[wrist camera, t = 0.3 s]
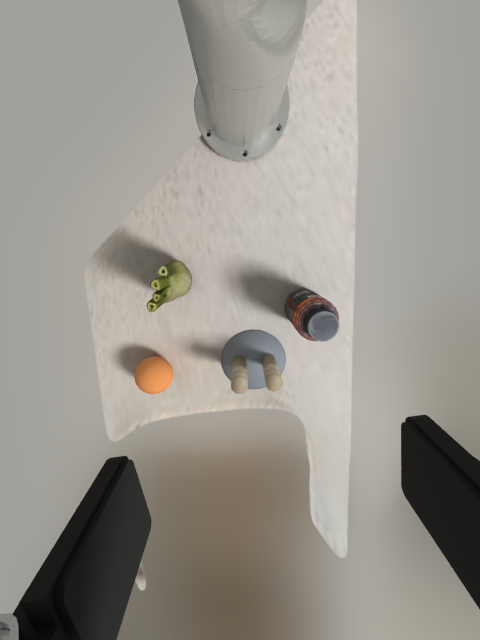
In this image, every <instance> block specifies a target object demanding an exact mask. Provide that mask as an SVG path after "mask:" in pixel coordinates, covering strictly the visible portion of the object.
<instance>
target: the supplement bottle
mask: <svg viewBox="0 0 480 640" xmlns="http://www.w3.org/2000/svg"><path fill="white" fill-rule="evenodd" d="M285 312H286V315H287V317H288V319H289V320H290V321H291V323H292V324H293V326H294V327H295V329H296V330H297V331H298V333H299V334H300V335H301V336H303V337H304V338H306V339H308V340H311V341H327V340H330V339H332V338H333V337H334V336H335V335H336V334H337V332H338V329H339V316H338V312H337V310H336V308H335V306H334V305H333V304H332V303H330V302H329V301H327V300H326V299H324V298H323V297H321V296H319V295H318V294H316V293H315V292H313V291H310V290H306V289H302V290H298V291H295V292H294V293H292V294H291V295H290V296H289V298H288V299H287V301H286V304H285Z"/></svg>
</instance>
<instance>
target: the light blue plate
mask: <svg viewBox="0 0 480 640" xmlns="http://www.w3.org/2000/svg"><path fill="white" fill-rule="evenodd" d="M265 354H272V355H274V357H275V359H276V362H277V366H278V369H279V372H280V375H281V374H282V372H283V370H284V368H285V363H286V356H285V351H284V349H283V347H282V345H281V343H280V342H279V341H278V340H277V339H276V338H275V337H274V336H272V335H271V334H269V333H266V332H263V331H258V330H251V331H245V332H242V333H240V334H238V335H236V336H235V337H233V338H232V339H231V340H230V341H229V342H228V344H227V345H226V347H225V349H224V351H223V356H222V365H223V369H224V372H225V374H226V375H227V377H228V378H229V379H230V380H231V381H232V362H233V359H234V357H236V356H239V355H240V356H243V357H245V359H246V363H247V378H248V389H261V388H264V387H266V382H265V377H264V371H263V366H262V361H261V359H262V357H263V356H264V355H265Z"/></svg>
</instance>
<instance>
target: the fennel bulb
mask: <svg viewBox="0 0 480 640" xmlns="http://www.w3.org/2000/svg"><path fill="white" fill-rule="evenodd" d="M158 274H159V277H158V278H157V279H155V280H153V281H152V282H151V283H150V287H151V288H153V289H156V290H157V291H156V292H155V293H154V294H153V298H152V299H151V300H150V301H149V302H148V303H147V309H148V310H149V311H150V312H154V311H155V310H156V309H157V308H159V307H160V306H161V305H162V304H163V303H168V302H170V301H172V300H174V299H176V298H178V297H181V296H183V295H185V294H187V292H188V291H189V290H190V288H191V285H192V277H191V274H190V271H189V270H188V268H187V267H186V266H185V264H184V263H182V262H181V261H174V262H172V263H170V264H168V265H163V266H161V267H160V268H159V269H158Z"/></svg>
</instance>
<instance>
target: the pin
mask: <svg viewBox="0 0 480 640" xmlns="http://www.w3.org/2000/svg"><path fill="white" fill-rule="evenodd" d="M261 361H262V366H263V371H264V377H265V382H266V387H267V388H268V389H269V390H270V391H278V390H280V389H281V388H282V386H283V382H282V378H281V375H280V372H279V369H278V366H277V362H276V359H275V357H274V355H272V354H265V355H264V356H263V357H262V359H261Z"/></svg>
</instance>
